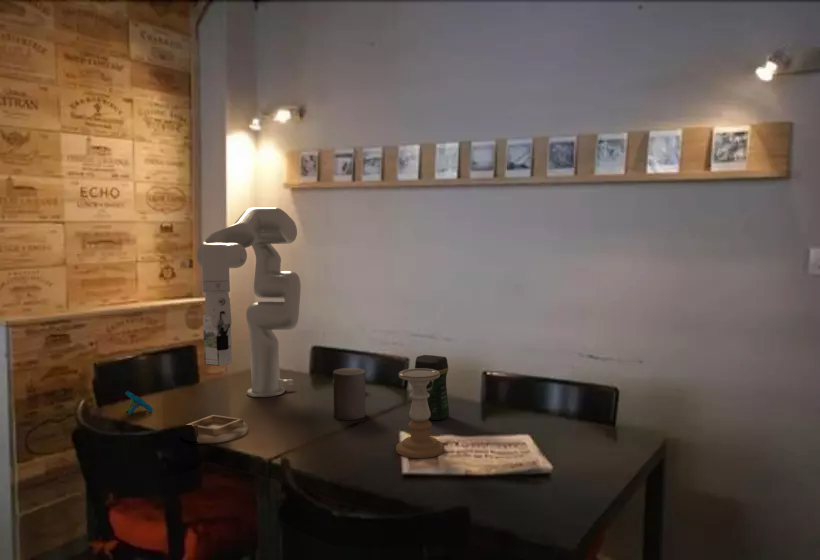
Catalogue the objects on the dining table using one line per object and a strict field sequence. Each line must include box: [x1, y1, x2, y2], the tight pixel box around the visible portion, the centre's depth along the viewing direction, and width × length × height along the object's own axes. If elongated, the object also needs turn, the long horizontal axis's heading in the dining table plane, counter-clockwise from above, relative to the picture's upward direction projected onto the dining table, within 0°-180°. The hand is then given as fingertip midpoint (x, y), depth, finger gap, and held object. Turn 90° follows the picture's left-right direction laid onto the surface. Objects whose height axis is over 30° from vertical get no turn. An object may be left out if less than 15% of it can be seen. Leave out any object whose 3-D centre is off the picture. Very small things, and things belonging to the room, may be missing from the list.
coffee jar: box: [414, 354, 450, 421], centre depth 204 cm, size 10×8×19 cm
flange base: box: [185, 414, 249, 444], centre depth 192 cm, size 18×18×4 cm
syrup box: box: [202, 314, 233, 367], centre depth 198 cm, size 6×6×14 cm
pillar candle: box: [332, 366, 367, 421], centre depth 207 cm, size 10×10×15 cm
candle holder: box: [395, 368, 445, 459], centre depth 174 cm, size 12×12×20 cm
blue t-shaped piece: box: [125, 390, 155, 416], centre depth 214 cm, size 11×6×10 cm
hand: (217, 347), depth 198 cm, fingers closed on syrup box, 7 cm apart
